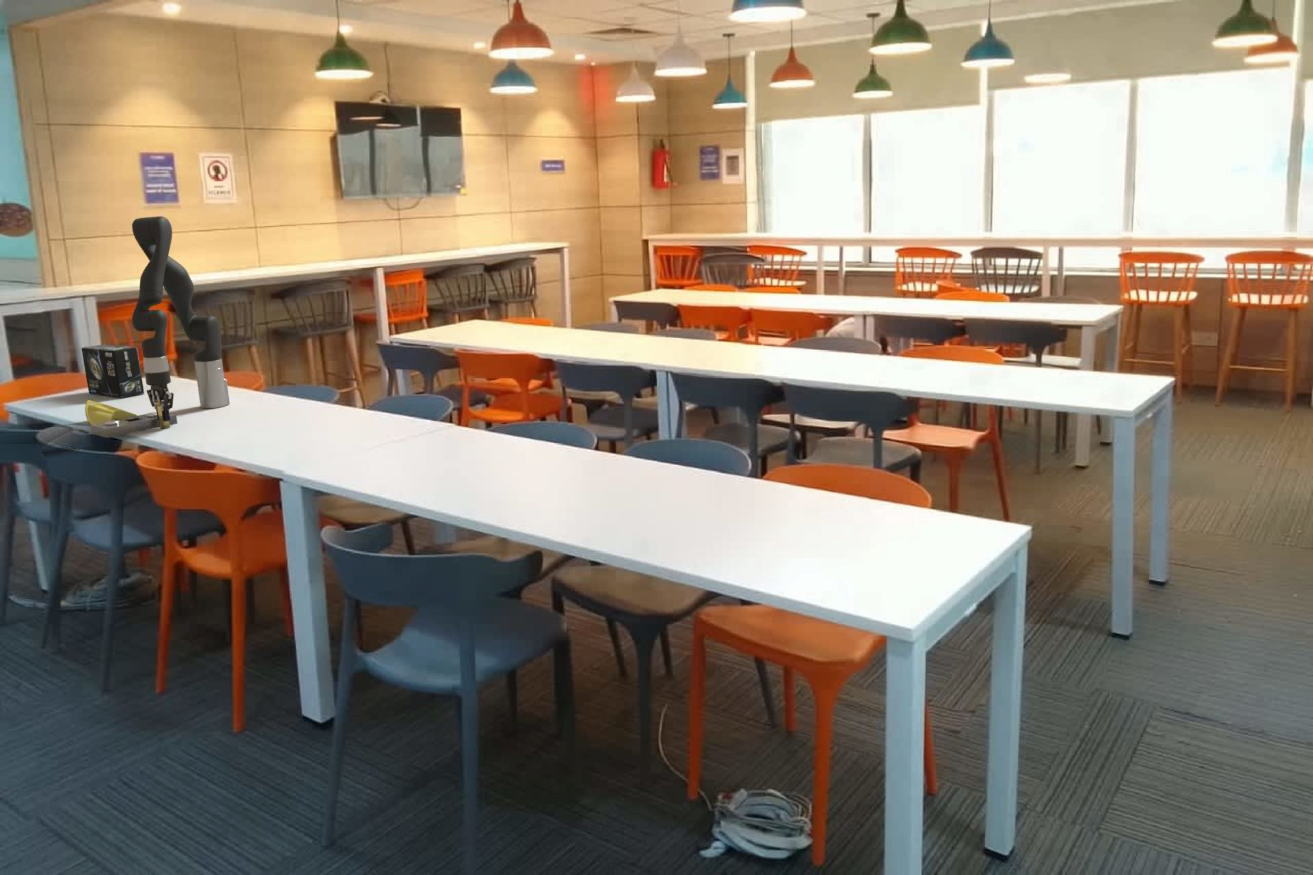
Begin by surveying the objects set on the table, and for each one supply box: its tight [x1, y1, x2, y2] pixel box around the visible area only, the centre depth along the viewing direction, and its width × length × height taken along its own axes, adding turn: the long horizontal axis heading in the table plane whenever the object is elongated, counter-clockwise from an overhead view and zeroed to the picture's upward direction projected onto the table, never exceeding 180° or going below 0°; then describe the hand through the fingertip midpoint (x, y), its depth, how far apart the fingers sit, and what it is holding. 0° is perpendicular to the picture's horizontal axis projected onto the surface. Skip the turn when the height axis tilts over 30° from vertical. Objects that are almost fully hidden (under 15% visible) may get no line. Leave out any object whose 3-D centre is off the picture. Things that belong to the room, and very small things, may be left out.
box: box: [81, 344, 145, 399], centre depth 414 cm, size 23×10×19 cm, turn 58°
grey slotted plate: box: [89, 412, 178, 439], centre depth 354 cm, size 24×11×4 cm, turn 142°
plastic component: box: [84, 399, 138, 425], centre depth 365 cm, size 20×7×10 cm
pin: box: [155, 402, 171, 430], centre depth 353 cm, size 4×4×9 cm
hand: (163, 420), depth 353 cm, fingers closed on pin, 3 cm apart
